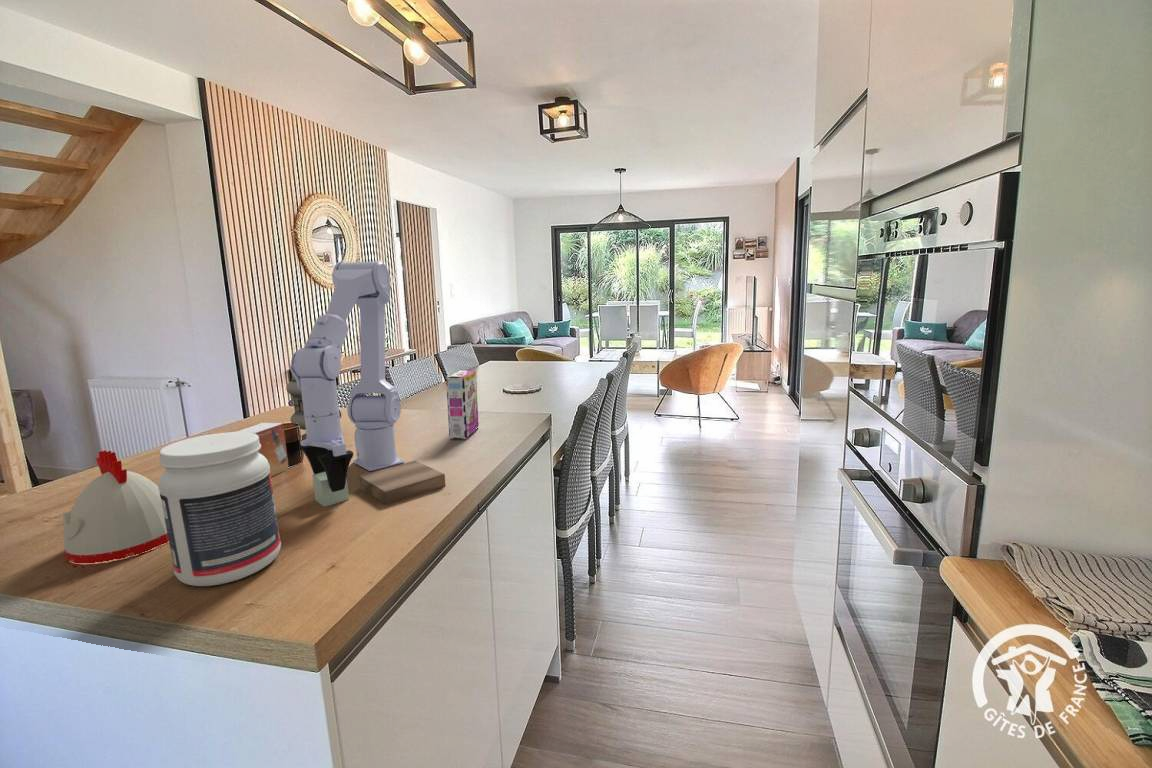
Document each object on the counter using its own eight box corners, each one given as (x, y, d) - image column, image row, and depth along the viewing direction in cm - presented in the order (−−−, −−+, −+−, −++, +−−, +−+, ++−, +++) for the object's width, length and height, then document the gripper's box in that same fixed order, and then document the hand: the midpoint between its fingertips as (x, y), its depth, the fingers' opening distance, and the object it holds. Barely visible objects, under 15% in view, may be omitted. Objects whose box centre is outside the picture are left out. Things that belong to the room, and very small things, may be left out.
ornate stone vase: (300, 433, 144) (291, 368, 140) (347, 429, 146) (340, 366, 143) (287, 446, 132) (278, 376, 129) (338, 442, 135) (330, 373, 132)
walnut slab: (360, 490, 104) (358, 475, 103) (416, 474, 112) (415, 460, 111) (387, 507, 95) (385, 491, 95) (445, 488, 103) (444, 473, 103)
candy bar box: (468, 440, 134) (463, 376, 131) (449, 440, 134) (444, 377, 131) (480, 428, 145) (476, 369, 142) (462, 428, 145) (458, 369, 142)
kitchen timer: (158, 517, 92) (143, 435, 90) (197, 533, 86) (182, 445, 83) (52, 552, 81) (30, 459, 78) (87, 574, 74) (65, 473, 71)
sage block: (315, 500, 98) (312, 474, 97) (340, 493, 101) (337, 468, 100) (324, 507, 95) (320, 480, 94) (349, 499, 98) (346, 474, 97)
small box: (261, 482, 108) (254, 433, 106) (238, 481, 109) (231, 432, 107) (289, 469, 116) (283, 422, 114) (268, 467, 117) (261, 422, 115)
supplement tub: (301, 546, 80) (286, 430, 77) (235, 595, 68) (213, 459, 64) (228, 541, 82) (209, 428, 79) (150, 588, 70) (124, 456, 66)
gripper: (285, 411, 97) (294, 481, 100) (312, 424, 87) (321, 501, 89) (325, 404, 102) (332, 471, 105) (354, 416, 92) (362, 490, 94)
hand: (330, 484), depth 97 cm, fingers open, 7 cm apart
